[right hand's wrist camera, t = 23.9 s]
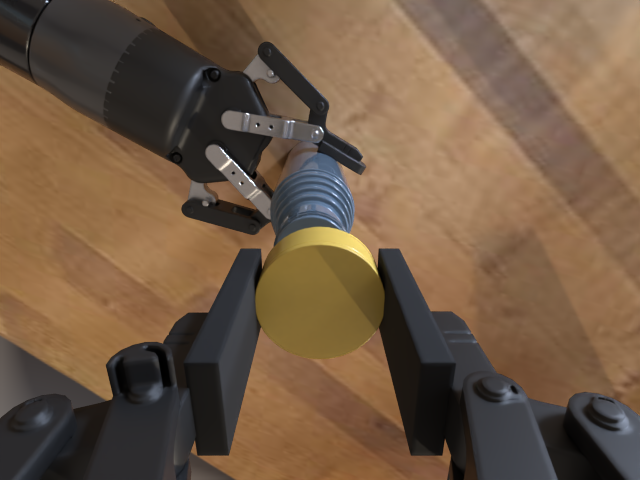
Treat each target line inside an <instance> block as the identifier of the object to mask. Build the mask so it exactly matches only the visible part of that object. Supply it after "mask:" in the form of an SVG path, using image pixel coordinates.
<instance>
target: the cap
mask: <svg viewBox="0 0 640 480" xmlns="http://www.w3.org/2000/svg"><path fill="white" fill-rule="evenodd" d="M384 299H385V290H384V287H383V284H382V281H381V278H380V274H379V271H378V268H377V265H376V262H375V260H374V258H373V256H372V254H371V253H370V251H369V250H368V249H367V247H366V246H365V245H364V244H363V243H362V242H361V241H359V240H358V239H357V238H355V237H354V236H352V235H351V234H349V233H347V232H344V231H341V230H339V229H335V228H330V227H311V228H305V229H302V230H298V231H296V232H294V233H291V234H289V235H288V236H286V237H285V238H283V239H282V240H281V241H279V242H278V243H277V244H276V245H275V246H274V247H273V249H272V250H271V251H270V253H269V254H268V256H267V258H266V260H265V263H264V266H263V269H262V272H261V275H260V278H259V281H258V284H257V287H256V292H255V304H256V315H257V319H258V321H259V323H260V326H261V327H262V329H263V331H264V332H265V333H266V335H267V336H268V337H269V338H270V339H271V340H272V341H273V342H274V343H275V344H276V345H278V346H279V347H281V348H282V349H284V350H286V351H287V352H290V353H292V354H294V355H297V356H301V357H305V358H310V359H329V358H335V357H339V356H343V355H346V354H348V353H351V352H352V351H354V350H356V349H358V348H359V347H361V346H362V345H364V344H365V343H366V342H367V341H368V340H369V339H370V338H371V337H372V336H373V335H374V334H375V332H376V331H377V329H378V328H379V326H380V324H381V321H382V319H383V314H384Z"/></svg>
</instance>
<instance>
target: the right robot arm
mask: <svg viewBox="0 0 640 480" xmlns="http://www.w3.org/2000/svg"><path fill="white" fill-rule="evenodd" d="M378 271H379V274H380V278H381V281H382V284H383V287H384V290H385V299H384V314H383V319H382V321H381V324H380V326H379V329H380V333H381V337H382V341H383V345H384V349H385V353H386V357H387V361H388V365H389V370H390V374H391V378H392V382H393V386H394V390H395V394H396V398H397V402H398V406H399V410H400V414H401V418H402V422H403V426H404V430H405V434H406V438H407V442H408V446H409V450H410V454H411V456H442V454H443V447H444V441H445V440H446V442H447V445H448V448H449V451H450V453H451V461H450V467H449V473H448V479H447V480H640V416H639V415H638V414H636V413H635V412H634V411H633V410H631V409H630V408H629V407H628V406H626V405H624V404H622V403H620V402H618V401H617V400H615V399H613V398H610V397H607V396H604V395H601V394H597V393H588V392H583V393H578V394H575V395H573V396H572V397H571V398H570V399H569V402H568V406H567V408H566V407H562V406H558V405H553V404H549V403H544V402H540V401H537V400H533V399H530V398H528V397H527V395H526V394H525V392H524V391H523V389H522V387H520V386H519V385H518V384H517V383H516V382H514V381H513V380H512V379H510V378H508V377H506V376H504V375H501V374H498V373H496V371H495V369H494V368H493V366H492V365H491V363H490V361H489V360H488V358H487V357H486V355H485V353H484V352H483V350H482V349H481V347H480V345H479V344H478V343H477V342H476V339H475V337H474V336H473V334H471V331H470V329H469V328H468V326H467V325H466V323H465V322H464V320H462V319H461V318H460V317H458V316H457V315H455V314H454V313H453V312H431V311H430V309H429V307H428V305H427V303H426V301H425V299H424V297H423V295H422V294H421V292H420V290H419V288H418V286H417V284H416V282H415V280H414V278H413V276H412V274H411V272H410V270H409V268H408V266H407V264H406V262H405V260H404V258H403V256H402V254H401V252H400V250H399V249H379V254H378ZM261 272H262V259H261V249H240V251H239V253H238V255H237V257H236V259H235V261H234V263H233V265H232V267H231V269H230V271H229V273H228V275H227V277H226V279H225V281H224V283H223V285H222V287H221V289H220V291H219V293H218V295H217V297H216V299H215V301H214V303H213V305H212V307H211V309H210V311H209V313H187V314H186V315H185V316H183V317H182V318H181V319H179V320H178V321H177V322H176V323H175V324H174V326H173V327H172V329H171V331H170V332H169V335H167V337H166V339H165V340H164V342H163V344H162V343H159V342H144V343H140V344H135V345H132V346H130V347H127V348H125V349H123V350H121V351H119V352H118V353H117V354H115V355H114V356H112V357H111V359H110V360H109V361H108V363H107V364H106V368H107V372H108V376H109V381H110V385H111V389H112V393H113V398H112V400H109V401H105V402H102V403H98V404H94V405H89V406H85V407H81V408H76V409H73V407H72V403H71V400H69V399H68V398H67V397H66V396H64V395H59V394H49V395H42V396H39V397H35V398H32V399H30V400H27V401H25V402H23V403H21V404H19V405H18V406H16V407H14V408H12V409H11V410H10V411H9V412H7V413H6V414H5V415H4V416H2V417H1V418H0V480H191V467H190V461H189V455H190V452H191V449H192V446H193V443H194V441H195V443H196V449H197V456H209V455H229V453H230V449H231V445H232V441H233V437H234V433H235V429H236V425H237V421H238V417H239V413H240V409H241V405H242V401H243V397H244V393H245V389H246V385H247V381H248V376H249V372H250V368H251V364H252V360H253V356H254V352H255V348H256V344H257V340H258V336H259V332H260V328H261V326H260V323H259V321H258V319H257V315H256V304H255V292H256V287H257V284H258V281H259V278H260V275H261Z"/></svg>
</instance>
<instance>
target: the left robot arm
mask: <svg viewBox="0 0 640 480" xmlns="http://www.w3.org/2000/svg"><path fill="white" fill-rule="evenodd" d="M0 65H1V66H3V67H5V68H7V69H9V70H11V71H13V72H14V73H16V74H18V75H20V76H22V77H24V78H25V79H27V80H29V81H31V82H33V83H35V84H36V85H38V86H40V87H42V88H43V89H45V90H47V91H48V92H50V93H51V94H53V95H54V96H56V97H57V98H58V99H60V100H61V101H63V102H64V103H65V104H67V105H68V106H70V107H71V108H73V109H75V110H76V111H78V112H80V113H81V114H83V115H85V116H87V117H89V118H91V119H93V120H94V121H96V122H98V123H100V124H102V125H104V126H106V127H107V128H109V129H111V130H113V131H115V132H117V133H118V134H120V135H122V136H124V137H126V138H128V139H130V140H131V141H133V142H135V143H137V144H139V145H141V146H142V147H144V148H146V149H148V150H150V151H152V152H153V153H155V154H157V155H159V156H161V157H163V158H165V159H166V160H168V161H171V162H173V163H175V164H177V165H178V166H179V167H180V168H182V169H183V171H184V172H185V173H186V175H187V176H188V177H189V178H190V179H191V180H192V181H191V186H190V191H189V196H188V200H187V201H186V202H185V203H184V204H183V206H182V213H183V214H184V215H185V216H186V217H189V218H193V219H196V220H200V221H204V222H207V223H211V224H215V225H218V226H222V227H225V228H229V229H233V230H236V231H240V232H243V233H247V234H251V235H255V234H257V233H258V232H259V231H260V229H261V228H263V227H264V226H265V225H266V224H267V223H269V222H271V217H270V204H271V199H272V196H273V193H274V191H273V190H272V189H271V188H270V187H269V186H268V185H267V183H266V182H265V180H264V178H263V177H262V176H261V174H260V173H259V172H258V171H257V170H256V168H257V166H258V164H259V162H260V159H261V155H262V151H263V150H264V149H265V148H266V147H267V146H268V144H269V143H270V141H271V140H272V138H273V137H278V138H284V139H294V140H300V141H305V142H311V143H313V144H315V145H317V146H318V150H319V151H320V152H322V153H324V154H325V155H327V156H329V157H331V158H332V159H334V160H336V161H337V162H339V163H341V164H342V165H344V166H346V167H347V168H349V169H351V170H352V171H354V172H356V173H358V174H360V175H361V174H362V173H363V171H364V170H365V168H366V166H365V164H364V163H363V162H361V159H362V158H363V156H362V155H361V153H360V152H359V150H358V149H357V148H356V147H354V146H353V145H351V144H349V143H348V142H346V141H344V140H343V139H341V138H339V137H338V136H336V135H335V134H333V133H331V132H330V131H328V129H327V128H326V124H325V123H326V117H327V112H328V109H329V103H328V101H327V99H326V98H325V97H324V96H323V95H322V94H321V93H320V92H319V91H318V90H317V89H316V88H315V87H314V86H313V85H312V84H311V83H310V82H309V81H308V80H307V79H306V78H305V77H304V76H303V75H302V74H301V73H300V72H299V71H298V70H297V69H296V68H295V67H294V65H293V64H292V63H291V62H290V61H289V60H288V59H287V58H286V57H285V56H284V55H283V54H282V53H281V52H280V51H279V50H278V49H277V48H276V47H275V46H274V45H273V44H272V43H270V42H264V43H262V44H261V45H260V46H259V48H258V54H257V55H256V57H255V58H254V59H253V60H252V62H251V63H250V64H249V65H248V66H247V68H246V69H245V70H244V71H243V72H240V71H229V70H226V69H224V68H222V67H220V66H219V65H217V64H215V63H214V62H212V61H210V60H209V59H207V58H206V57H204V56H202V55H201V54H199V53H197V52H196V51H194V50H192V49H191V48H189V47H187V46H186V45H184V44H183V43H181V42H179V41H178V40H176V39H174V38H173V37H171V36H169V35H168V34H166V33H164V32H163V31H161V30H159V29H158V28H156V27H155V25H153V24H152V23H151V22H149V21H148V20H146V19H145V18H142V17H138V16H136V15H135V14H133V13H132V12H130V11H128V10H127V9H125V8H123V7H121V6H120V5H118V4H115V3H113V2H111V1H109V0H0ZM259 79H264V80H265V81H267V82H269V83H277V82H278V81H279V80H280V79H281V80H282V81H283V82H284V83H285V84H286V85H287V86H288V87H289V88H290V89H291V90H292V91H293V92H294V93H295V94H296V95H297V96H298V97H299V98H300V99H301V100H302V101H303V102H304V103H305V104H306V105H307V106H308V107H309V108H310V114H309V120H308V121H305V120H300V119H295V118H291V117H286V116H281V115H276V114H270V113H269V111H268V109H267V107H266V105H265V103H264V101H263V98H262V96H261V94H260V92H259V90H258V88H257V85H256V83H255V82H256V81H257V80H259ZM222 181H230V182H231V183H232V184H233V185H234V187H235V188H236V189H237V190H238V191H239V192H240V193H241V194H242V195H243V196H244V197H245V198H246V199H248V200H250V201H251V202H252V203H253V204H254V205H255V206H256V208H257V209H256V210H254V209H251V208H247V207H244V206H240V205H237V204H233V203H230V202H226V201H223V200H219V199H218V195H217V193H216V192H214V191H212V190H210V189H209V188H208V186H207V183H212V182H222ZM242 181H243V182H244V183H242Z"/></svg>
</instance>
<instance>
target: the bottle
mask: <svg viewBox="0 0 640 480" xmlns="http://www.w3.org/2000/svg"><path fill="white" fill-rule="evenodd" d="M270 217H271V223H272V226H273V229H274V232H275V235H276V238H275V242H274V246H275V245H276V244H277V243H278V242H279V241H281V240H282V239H283V238H285V237H286V236H288V235H289V234H291V233H294V232H296V231H298V230H302V229H305V228H311V227H330V228H335V229H339V230H341V231H344V232H347V233H350V231H351V228H352V225H353V221H354V201H353V197H352V194H351V191H350V188H349V186H348V183H347V180H346V177H345V174H344V171H343V168H342V166H341V163H339V162H337V161H336V160H334V159H332V158H331V157H329V156H327V155H325V154H324V153H322V152H320V151H319V150H318V146H317V145H315V144H313V143H311V142H305V141H302V142H300V143H298V144H297V145H295V146H294V147H293V148H292V150H291V151H290V153H289V155H288V157H287V159H286V162H285V165H284V167H283V170H282V172H281V175H280V178H279V180H278V183H277V185H276V188H275V191H274V193H273V196H272V199H271V204H270Z"/></svg>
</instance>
